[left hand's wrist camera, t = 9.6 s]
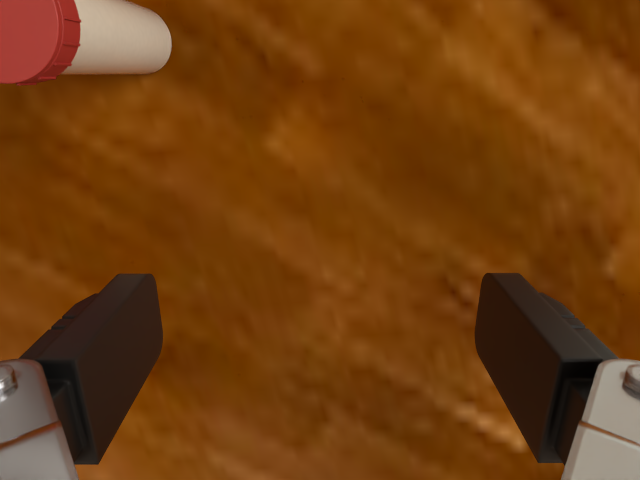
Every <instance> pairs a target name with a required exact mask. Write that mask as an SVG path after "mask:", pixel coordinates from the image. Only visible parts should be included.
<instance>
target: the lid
mask: <svg viewBox="0 0 640 480" xmlns="http://www.w3.org/2000/svg"><path fill="white" fill-rule="evenodd" d="M80 22H81V20H80V19H79V14H78V10H77V7H76V4H75V1H74V0H0V83H5V84H9V83H16V84H17V85H37V84H36V83H38V82H43V81H47V80H55V79H57V78H56V76H58V75H60V74H61V73H62V72H63V71H65V69H66V68H67V67H68V66H71V65H72V64H71V62H72V61H73V59H74V57H75V55H76V53H77V50H78V47H79V46H80V45H81V44H79V42H80V31H81V29H80Z"/></svg>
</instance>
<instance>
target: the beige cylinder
mask: <svg viewBox="0 0 640 480" xmlns="http://www.w3.org/2000/svg"><path fill="white" fill-rule="evenodd" d="M74 1H75V4H76V7H77V10H78V14H79V19H80V20H81V22H80V29H81V31H80V42H79V44H81V45H80V46H79V47H78V50H77V53H76V55H75V57H74V59H73V61H72V62H71V64H72V65H71V66H68V67H67V68H66V69H65V71H63V72H62V73H61V74H150V73H153V72H156V71H158V70H159V69H161V68H162V67H163V66H164V65H165V64H166V62H167V60H168V59H169V56H170V53H171V36H170V33H169V30H168V28H167V26H166V24H165V23H164V21H163V20H162V19H161V18H160V17H159V16H158V15H157V14H156V13H155V12H153V11H151V10H150V9H147V8H145V7H142V6H139V5H137V4H134V3H132V2H129V1H126V0H74Z"/></svg>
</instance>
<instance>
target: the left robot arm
mask: <svg viewBox="0 0 640 480" xmlns="http://www.w3.org/2000/svg"><path fill="white" fill-rule="evenodd" d="M162 342H163V330H162V323H161V315H160V308H159V301H158V294H157V287H156V282H155V279H154V277H153V275H152V274H118V275H116V276H115V277H114V278H113V279H112V280H111V281H110V282H109V283H108V284H107V285H106V286H105V287H104V289H103V290H102V291H101V292H100V293H99V294H93V295H91V296H90V297H88V298H86V299H84V300H82V301H80V302H78V303H76V304H75V305H74V306H73V307H72V308H71V309H70V310H69V311H68V312H67V313H66V314H64V315H63V316H62V319H59V320H58V321H57V322H56V323H55V324H54V325H53V326H52V327H51V330H48V331H47V332H46V333H45V334H44V335H43V336H42V337H40V338H39V339H38V340H37V341H36V342H35V343H34V344H33V345H32V346H31V347H30V348H29V349H28V350H27V351H26V352H25V353H24V354H23V355H22V356H21V357H20V358H19V359H11V360H5V361H0V480H79V478H78V475H77V472H76V469H75V465H74V464H99V462H100V460H101V459H102V457H103V455H104V453H105V451H106V450H107V448H108V446H109V444H110V443H111V441H112V439H113V437H114V435H115V434H116V432H117V430H118V428H119V427H120V425H121V423H122V421H123V419H124V418H125V416H126V414H127V412H128V411H129V409H130V407H131V405H132V403H133V402H134V400H135V398H136V396H137V395H138V393H139V391H140V389H141V387H142V386H143V384H144V382H145V380H146V379H147V377H148V375H149V373H150V371H151V370H152V368H153V366H154V364H155V362H156V361H157V359H158V357H159V355H160V352H161V348H162ZM475 344H476V349H477V352H478V355H479V357H480V359H481V361H482V362H483V364H484V366H485V368H486V370H487V371H488V373H489V375H490V377H491V379H492V380H493V382H494V384H495V386H496V388H497V390H498V391H499V393H500V395H501V397H502V399H503V400H504V402H505V404H506V406H507V408H508V409H509V411H510V413H511V415H512V417H513V418H514V420H515V422H516V424H517V426H518V427H519V429H520V431H521V433H522V435H523V436H524V438H525V440H526V442H527V444H528V445H529V447H530V449H531V451H532V453H533V454H534V456H535V458H536V460H537V462H538V463H563V464H564V465H565V469H564V472H563V475H562V478H561V480H640V361H635V360H629V359H619V358H618V357H617V356H616V355H615V354H614V353H613V352H611V351H610V350H609V349H608V348H607V347H606V346H605V345H604V344H603V343H602V342H601V341H600V340H599V339H598V338H597V337H596V336H595V335H594V334H593V333H592V332H591V331H590V330H589V329H585V325H584V324H583V323H581V322H580V321H579V320H578V319H577V318H574V315H573V314H572V313H571V312H570V311H569V310H568V309H567V308H566V307H565V306H564V305H563V304H562V303H560V302H558V301H556V300H555V299H553V298H551V297H549V296H547V295H545V294H543V293H538V292H537V291H536V290H535V289H534V288H533V287H532V286H531V285H530V284H529V283H528V282H527V281H526V280H525V279H524V278H523V277H522V275H520V274H519V273H486V274H485V275H484V277H483V279H482V283H481V290H480V297H479V305H478V312H477V319H476V326H475Z"/></svg>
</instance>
